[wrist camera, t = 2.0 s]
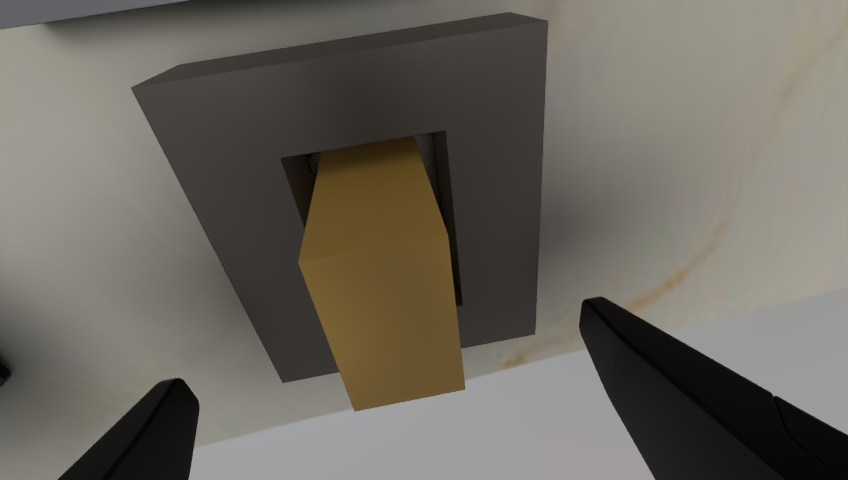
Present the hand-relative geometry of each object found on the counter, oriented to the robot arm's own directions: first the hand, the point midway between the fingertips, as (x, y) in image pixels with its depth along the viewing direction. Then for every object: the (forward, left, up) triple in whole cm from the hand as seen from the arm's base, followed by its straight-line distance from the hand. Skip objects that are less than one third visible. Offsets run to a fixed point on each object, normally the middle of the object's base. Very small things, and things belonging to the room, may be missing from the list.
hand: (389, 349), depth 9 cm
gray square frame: (0, 0, -7) cm, 7 cm away
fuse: (0, 0, -7) cm, 7 cm away
